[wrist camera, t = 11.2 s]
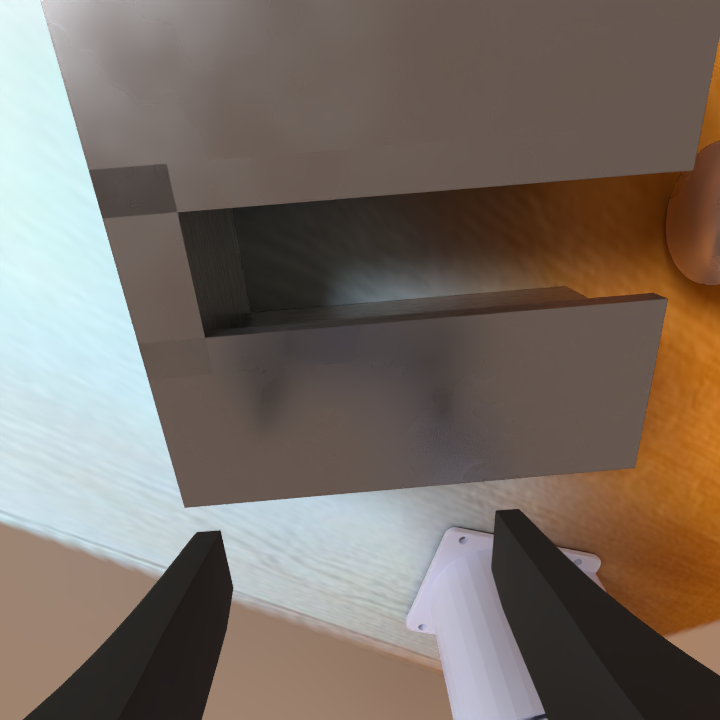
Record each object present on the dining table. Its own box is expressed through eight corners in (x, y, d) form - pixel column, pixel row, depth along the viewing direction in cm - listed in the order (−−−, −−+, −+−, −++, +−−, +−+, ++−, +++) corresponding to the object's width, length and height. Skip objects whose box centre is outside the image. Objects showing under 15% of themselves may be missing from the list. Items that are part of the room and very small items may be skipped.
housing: (226, 415, 22) (184, 507, 16) (139, 12, 16) (16, -82, 10) (555, 386, 22) (635, 468, 16) (597, -23, 16) (753, -137, 10)
